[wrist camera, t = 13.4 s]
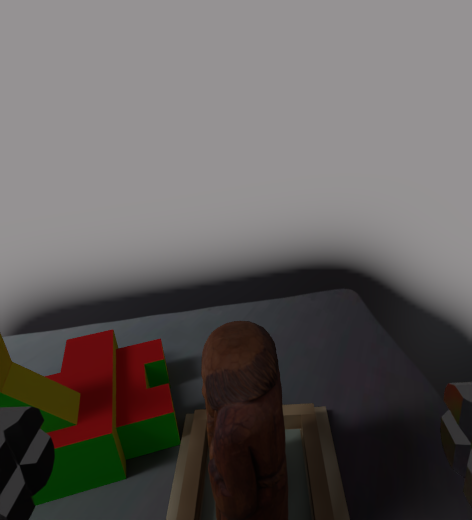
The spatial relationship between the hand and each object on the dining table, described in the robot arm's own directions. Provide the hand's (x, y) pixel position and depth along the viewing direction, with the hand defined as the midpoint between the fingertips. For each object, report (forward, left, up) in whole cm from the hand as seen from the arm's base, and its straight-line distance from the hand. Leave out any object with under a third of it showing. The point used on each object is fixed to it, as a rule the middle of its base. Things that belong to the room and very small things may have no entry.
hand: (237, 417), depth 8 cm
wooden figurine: (-2, +19, -29) cm, 35 cm away
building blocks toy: (-24, +30, -30) cm, 49 cm away
